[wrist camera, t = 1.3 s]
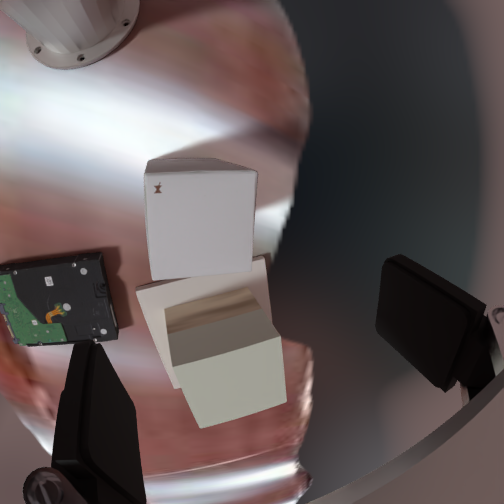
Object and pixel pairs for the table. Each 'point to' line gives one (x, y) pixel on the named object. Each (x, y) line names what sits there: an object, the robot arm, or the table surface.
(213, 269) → the supplement box
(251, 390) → the upper block
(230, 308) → the lower block
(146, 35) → the table surface
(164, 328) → the base board
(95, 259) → the disk drive
